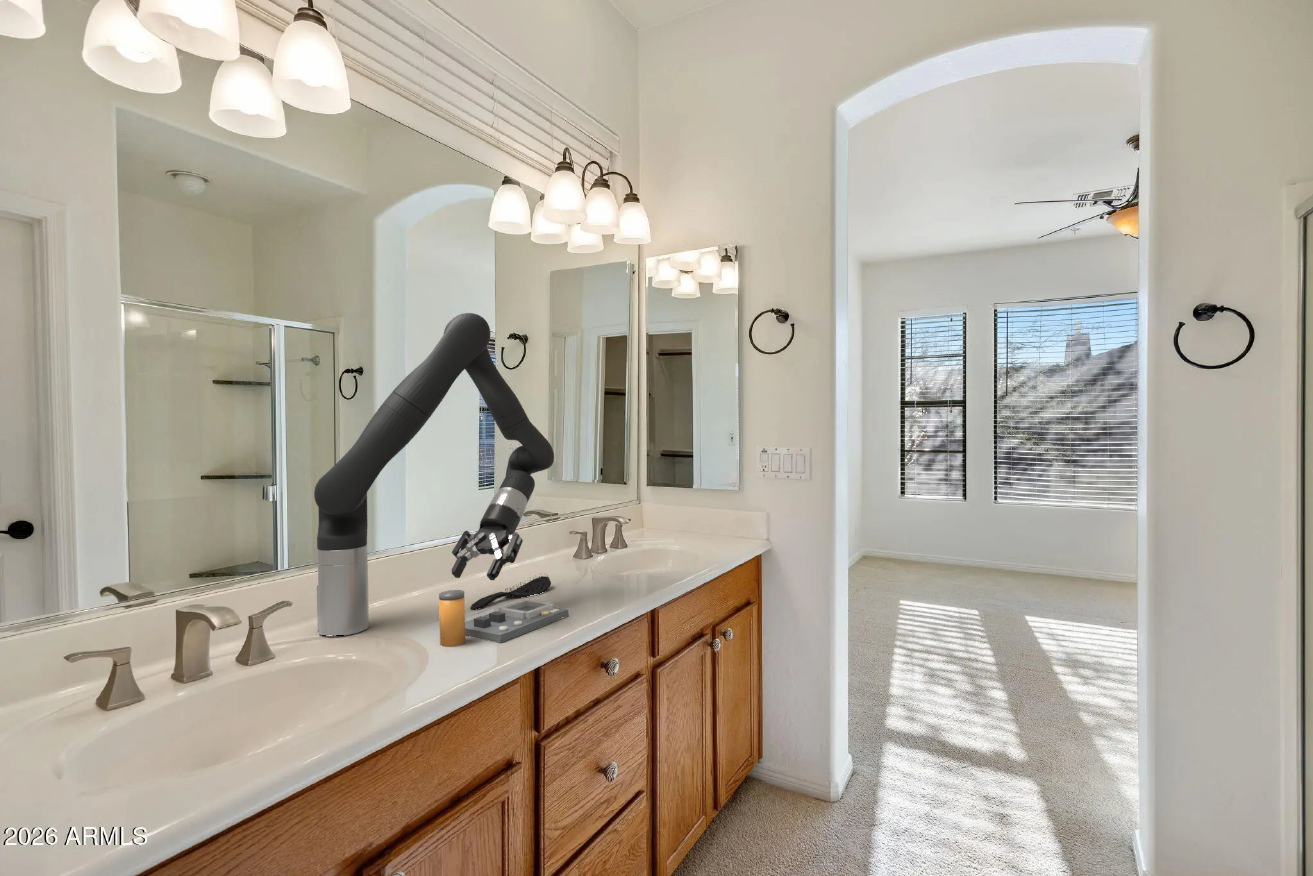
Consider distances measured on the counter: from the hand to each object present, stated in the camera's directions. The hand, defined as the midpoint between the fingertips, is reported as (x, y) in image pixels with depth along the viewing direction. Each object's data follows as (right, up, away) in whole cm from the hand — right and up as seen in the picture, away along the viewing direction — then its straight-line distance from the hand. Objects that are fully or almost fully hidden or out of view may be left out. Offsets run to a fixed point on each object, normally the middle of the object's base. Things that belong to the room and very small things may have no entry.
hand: (472, 577), depth 124 cm
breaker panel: (+7, -11, +5) cm, 14 cm away
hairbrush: (+1, -12, +28) cm, 30 cm away
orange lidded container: (-2, -11, -6) cm, 13 cm away
